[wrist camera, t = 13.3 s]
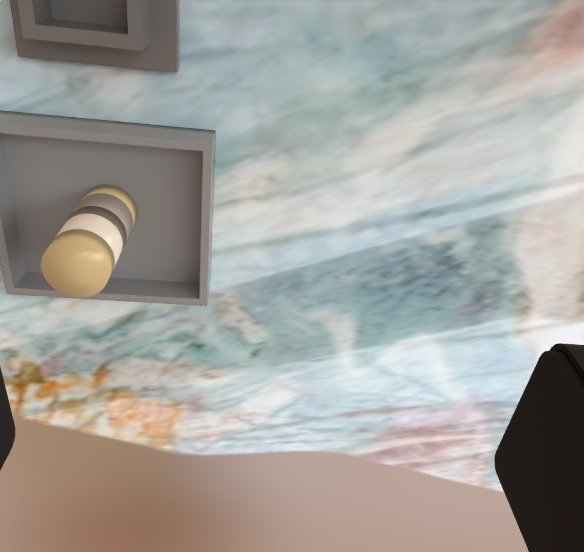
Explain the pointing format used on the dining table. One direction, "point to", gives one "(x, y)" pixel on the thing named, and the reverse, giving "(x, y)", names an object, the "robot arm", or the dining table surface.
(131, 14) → the fuse block
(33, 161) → the tray
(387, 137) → the dining table surface
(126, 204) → the fuse
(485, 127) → the dining table surface
